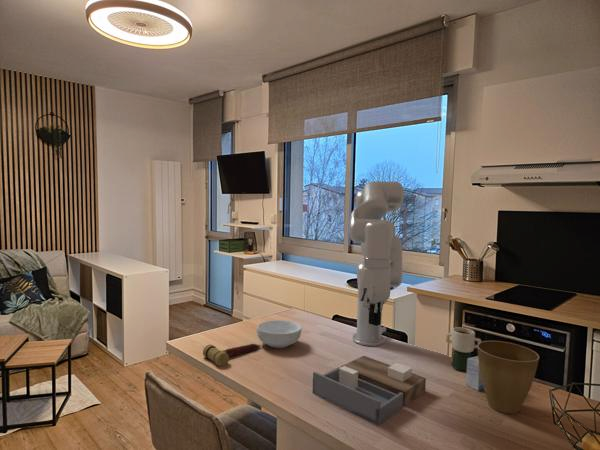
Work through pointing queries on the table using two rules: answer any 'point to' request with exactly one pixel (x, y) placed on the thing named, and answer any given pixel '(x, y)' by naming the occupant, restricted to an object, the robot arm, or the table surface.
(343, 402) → the tray
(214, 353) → the gavel
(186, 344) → the table surface
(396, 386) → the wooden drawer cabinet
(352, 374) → the white square tile
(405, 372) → the tile
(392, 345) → the table surface
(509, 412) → the plant pot
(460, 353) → the character mug
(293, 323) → the cereal bowl
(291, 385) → the table surface
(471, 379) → the medicine box
